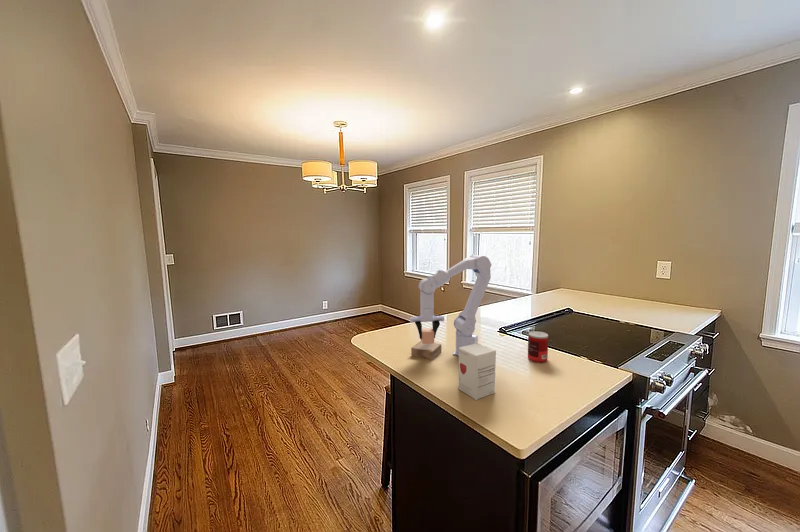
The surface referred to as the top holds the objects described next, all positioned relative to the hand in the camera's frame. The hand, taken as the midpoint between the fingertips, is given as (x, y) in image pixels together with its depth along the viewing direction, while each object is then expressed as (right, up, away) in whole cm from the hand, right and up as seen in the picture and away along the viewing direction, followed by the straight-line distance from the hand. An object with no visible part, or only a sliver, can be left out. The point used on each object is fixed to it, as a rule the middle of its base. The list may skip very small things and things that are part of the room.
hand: (427, 338), depth 140 cm
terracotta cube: (0, -2, 0) cm, 2 cm away
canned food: (+46, -8, -3) cm, 47 cm away
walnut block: (0, -8, +4) cm, 9 cm away
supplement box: (+14, -12, -29) cm, 35 cm away
